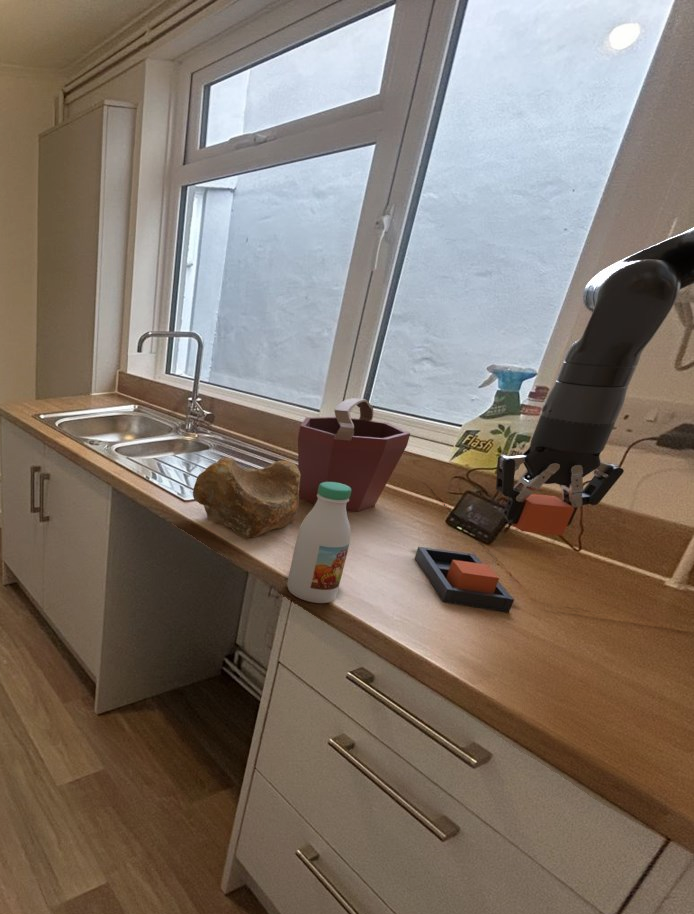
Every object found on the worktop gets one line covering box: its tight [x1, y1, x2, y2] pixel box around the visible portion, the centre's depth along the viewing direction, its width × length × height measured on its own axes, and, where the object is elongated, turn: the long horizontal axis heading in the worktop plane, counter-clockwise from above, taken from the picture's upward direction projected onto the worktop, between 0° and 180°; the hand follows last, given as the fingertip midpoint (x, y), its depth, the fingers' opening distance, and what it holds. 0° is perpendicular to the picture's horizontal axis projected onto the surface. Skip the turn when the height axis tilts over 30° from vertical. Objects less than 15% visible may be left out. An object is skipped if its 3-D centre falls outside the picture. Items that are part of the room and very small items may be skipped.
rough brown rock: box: [192, 457, 301, 540], centre depth 114 cm, size 23×17×15 cm
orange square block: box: [446, 560, 500, 594], centre depth 90 cm, size 5×5×4 cm
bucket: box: [297, 397, 411, 513], centre depth 129 cm, size 24×22×25 cm
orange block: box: [504, 493, 574, 536], centre depth 80 cm, size 5×5×4 cm
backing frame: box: [414, 546, 515, 613], centre depth 94 cm, size 9×17×2 cm, turn 159°
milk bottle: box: [286, 482, 352, 604], centre depth 88 cm, size 8×8×20 cm
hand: (533, 524), depth 81 cm, fingers closed on orange block, 5 cm apart
